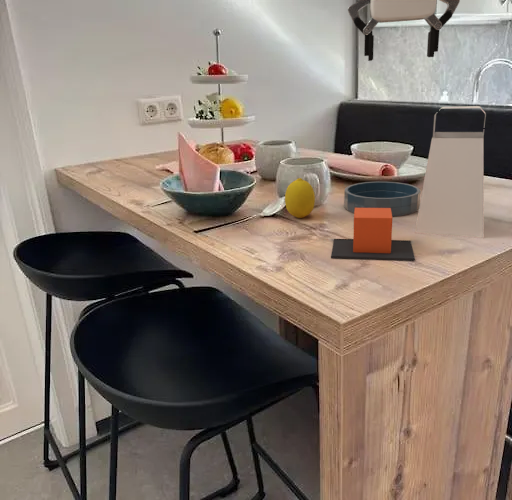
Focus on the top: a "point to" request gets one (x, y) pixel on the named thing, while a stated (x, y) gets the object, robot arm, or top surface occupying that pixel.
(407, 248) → the mat
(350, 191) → the bowl
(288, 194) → the lemon
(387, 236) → the cube
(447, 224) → the grater
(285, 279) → the top surface
